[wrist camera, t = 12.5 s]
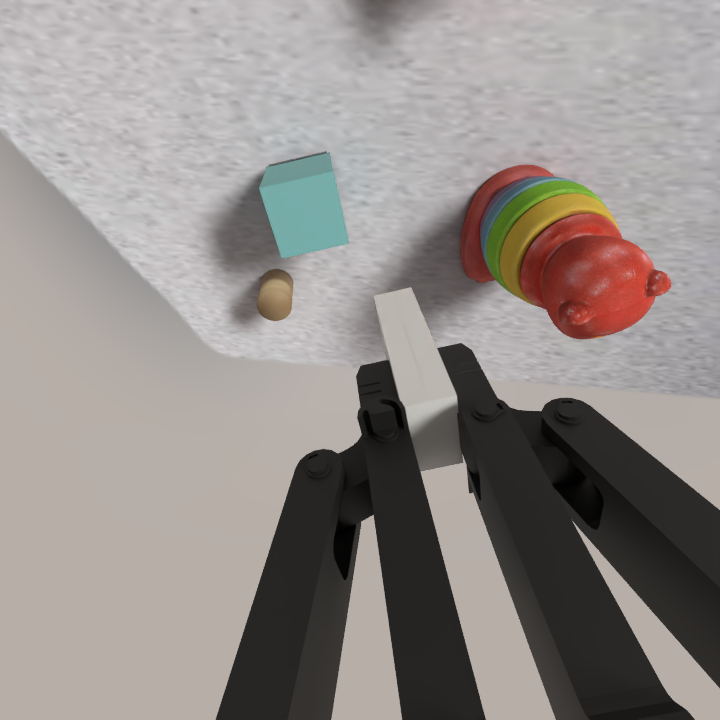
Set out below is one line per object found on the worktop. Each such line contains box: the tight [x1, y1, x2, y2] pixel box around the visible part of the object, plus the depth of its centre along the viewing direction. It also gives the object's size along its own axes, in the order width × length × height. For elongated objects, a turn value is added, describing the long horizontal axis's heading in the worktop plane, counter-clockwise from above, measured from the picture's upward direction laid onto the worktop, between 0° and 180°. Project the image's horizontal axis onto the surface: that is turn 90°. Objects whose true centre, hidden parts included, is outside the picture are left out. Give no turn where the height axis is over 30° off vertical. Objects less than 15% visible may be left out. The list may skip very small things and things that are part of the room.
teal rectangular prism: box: [259, 152, 349, 258], centre depth 34 cm, size 5×5×7 cm
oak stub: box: [257, 269, 293, 321], centre depth 41 cm, size 3×3×4 cm
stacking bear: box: [461, 165, 671, 339], centre depth 34 cm, size 11×10×18 cm
